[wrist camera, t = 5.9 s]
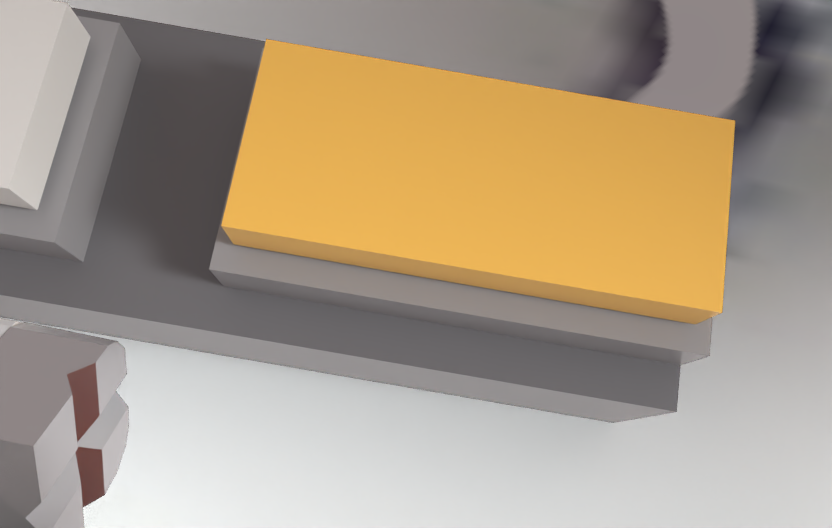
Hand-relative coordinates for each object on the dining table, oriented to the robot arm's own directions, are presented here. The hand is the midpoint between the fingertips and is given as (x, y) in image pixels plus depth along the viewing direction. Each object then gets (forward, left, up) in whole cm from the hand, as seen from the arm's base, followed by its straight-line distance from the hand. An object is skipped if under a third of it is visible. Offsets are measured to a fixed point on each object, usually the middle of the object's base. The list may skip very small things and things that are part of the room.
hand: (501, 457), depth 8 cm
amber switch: (-2, -7, -11) cm, 13 cm away
